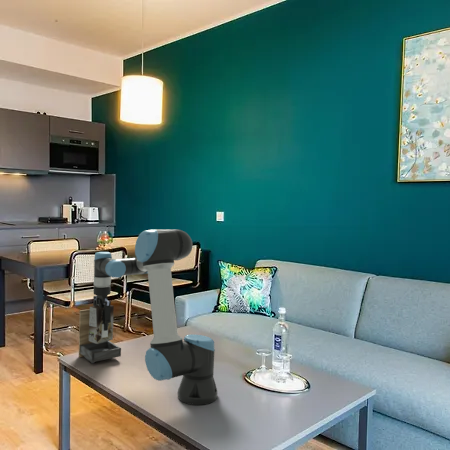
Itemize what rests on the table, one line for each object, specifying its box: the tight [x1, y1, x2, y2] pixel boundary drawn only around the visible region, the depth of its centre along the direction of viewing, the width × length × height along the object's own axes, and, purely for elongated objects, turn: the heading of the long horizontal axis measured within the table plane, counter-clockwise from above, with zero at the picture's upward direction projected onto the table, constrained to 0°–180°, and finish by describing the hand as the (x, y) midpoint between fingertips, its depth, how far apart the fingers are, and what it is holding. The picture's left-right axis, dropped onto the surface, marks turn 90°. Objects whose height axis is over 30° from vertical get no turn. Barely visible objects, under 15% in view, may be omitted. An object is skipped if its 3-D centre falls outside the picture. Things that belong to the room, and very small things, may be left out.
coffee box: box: [89, 305, 114, 344], centre depth 202 cm, size 9×6×16 cm
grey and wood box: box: [78, 308, 122, 364], centre depth 203 cm, size 15×14×22 cm
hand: (100, 334), depth 203 cm, fingers closed on coffee box, 7 cm apart
